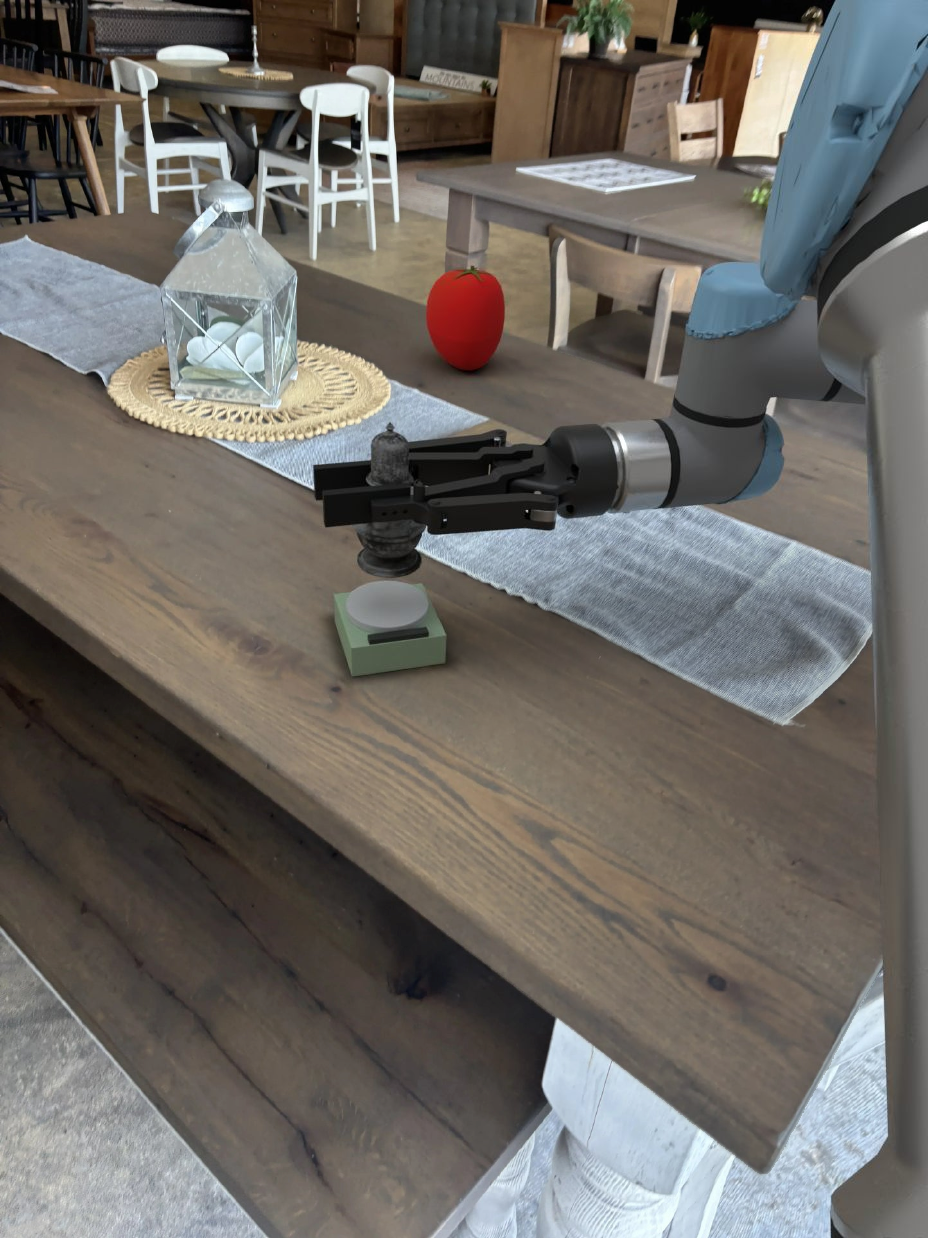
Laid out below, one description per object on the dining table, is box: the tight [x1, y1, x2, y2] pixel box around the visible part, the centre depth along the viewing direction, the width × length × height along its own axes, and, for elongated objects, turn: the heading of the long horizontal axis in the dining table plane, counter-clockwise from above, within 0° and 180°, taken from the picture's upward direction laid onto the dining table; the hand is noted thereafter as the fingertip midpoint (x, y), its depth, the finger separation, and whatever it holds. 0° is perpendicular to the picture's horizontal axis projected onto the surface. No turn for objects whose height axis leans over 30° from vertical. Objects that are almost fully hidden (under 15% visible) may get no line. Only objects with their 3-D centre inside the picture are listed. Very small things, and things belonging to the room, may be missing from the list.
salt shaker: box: [352, 421, 427, 579], centre depth 70 cm, size 6×6×12 cm
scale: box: [333, 580, 448, 677], centre depth 78 cm, size 8×8×4 cm
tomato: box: [425, 264, 506, 371], centre depth 131 cm, size 13×11×14 cm
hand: (319, 495), depth 69 cm, fingers closed on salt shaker, 4 cm apart
